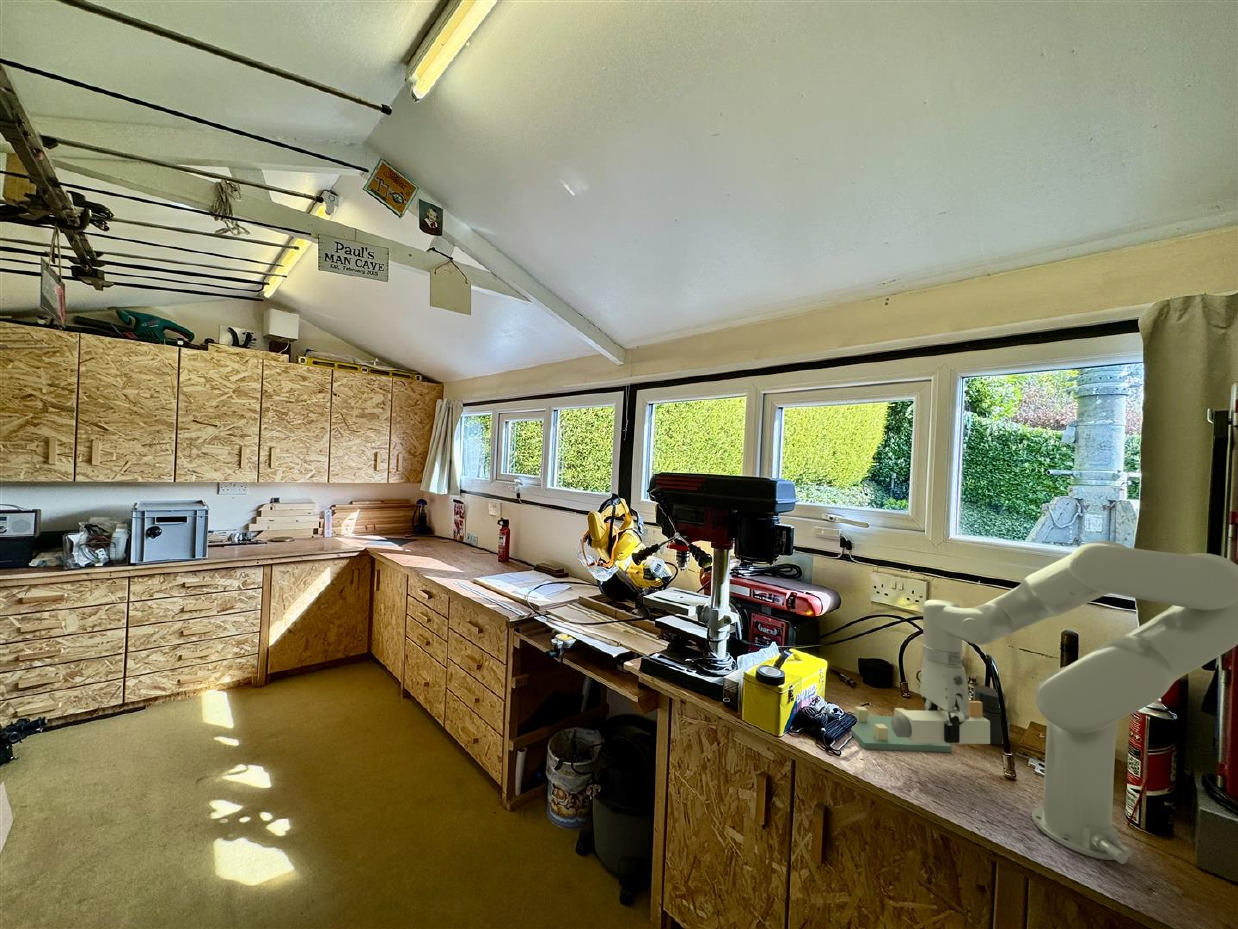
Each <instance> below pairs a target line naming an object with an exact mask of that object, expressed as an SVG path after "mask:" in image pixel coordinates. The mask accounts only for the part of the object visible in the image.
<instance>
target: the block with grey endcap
mask: <svg viewBox="0 0 1238 929" xmlns="http://www.w3.org/2000/svg"><path fill="white" fill-rule="evenodd" d="M967 713H968V715H969V720H966V721H964V722H963V723H962V725H961V726H960V742H959V743H946V742H945V741H944V724H947V723H946V718H945V713H944V710H939V711H926V710H911V709H910V710H909V709H905V710H899V716H894V715H892V716H893V717H892V719H891V725H892V729H893V731H894V733H895V735H896V736H898V737H905V738H907V739H908V740H909V741H910V742H912V743H932V744H950V745H951V744H952V745H955V744H956V745H959V744H960V745H965V744H966V745H971V744H972V745H973V744H974V745H990V721H989V720H987V719H985V718H984V717H982V702H980V701H973V700H969V711H968V712H967ZM950 714H951V718H952V717H954V713H950Z"/></svg>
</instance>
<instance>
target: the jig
mask: <svg viewBox="0 0 1238 929" xmlns="http://www.w3.org/2000/svg"><path fill="white" fill-rule="evenodd" d="M899 710H906V709H905V708H902V707H894V710H893V711H894V712H893V714H894V715H892V716H890V715H889V716H888V715H868V714H869V710H868V709H867V708H866V707H865V706H854V715H855V717H856V718H857V722H856V724H855V725H854V726H852V728H851V730H852V735H853V737H854V738H853V737H852V738H853V739H854V740H855V741H856V742H857V743H858V744H859V746H861V747H862V748H863V750H876V749H877V750H879V751H881V750H882V751H909V752H935V753H936V752H937V753H952V745H951V744H932V743H912V742H910V741H909V740H908V739H907V738H905V737H898V736H896V735H895V733H894V731H893V729H892V725H891V719H892V717H893V716H899Z"/></svg>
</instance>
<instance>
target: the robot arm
mask: <svg viewBox="0 0 1238 929" xmlns="http://www.w3.org/2000/svg"><path fill="white" fill-rule="evenodd" d="M1109 594H1113V595H1118V596H1121V597H1128V598H1133V599H1139V600H1144V601H1149V602H1156V603H1160V604H1165V605H1170V606H1169V607H1168V608H1167V609H1165V610H1163V612H1160V613H1159V614H1157V615H1155V616H1154V617H1153V618H1150V619H1149V620H1148V621H1147V622H1145V623H1143V624H1141V625H1139V626H1138V627H1136V628H1134V629H1133V630H1130V631H1128V632H1126V633H1125V634H1122V635H1121V636H1119V637H1115V638H1112V639H1110V640H1108V641H1106V642H1104V643H1102V644H1101V645H1100V646H1098V647H1097V648H1095V649H1093V650H1092V651H1090V652H1088V653H1087V654H1085V655H1083V656H1082V657H1080V658H1079V659H1077V660H1075V661H1073V662H1072V663H1070V664H1068V665H1066V666H1063V667H1060V668H1058V669H1056V670H1055V671H1053V672H1052V673H1050V674H1049V675H1048V676H1047V677H1045V678H1043V679H1042V680H1041V681H1040V682H1039V683H1038V684H1037V686H1036V689H1035V693H1034V698H1035V700H1034V701H1035V703H1036V706H1037V708H1038V711H1039V712H1040V713H1041V715H1042V716H1043V718H1045V719H1046V721H1047V722H1046V733H1045V734H1046V735H1045V749H1044V750H1045V752H1044V753H1045V754H1044V773H1043V774H1044V778H1043V779H1044V780H1043V799H1042V801H1043V802H1042V804H1043V805H1040V806H1037V807H1035V808H1034V807H1033V810H1032V811H1031V812H1032V814H1031V818H1032V821H1033V823H1034V824H1035V825H1036V827H1037V828H1038V829H1039V830H1040V831H1041V832H1042V833H1043V834H1045V835H1046V836H1047V837H1048V838H1050V839H1052V840H1053V841H1055V842H1056V843H1058V844H1060V845H1062V846H1064V847H1066V848H1068V849H1069V850H1072V851H1074V852H1077V853H1079V854H1082V855H1085V856H1088V857H1091V858H1095V859H1099V860H1105V861H1117V863H1120V864H1126V862H1128V858H1130V857H1131V856H1132V855H1133V851H1132V850H1131V849H1130V848H1129V847H1127V846H1126V845H1124V843H1122V842H1120V840H1119V839H1118V838H1119V830H1118V829H1117V828H1116V827H1114V826H1113V806H1114V805H1113V804H1114V803H1113V801H1114V778H1115V760H1116V741H1117V731H1118V724H1119V723H1118V722H1119V721H1120V720H1122V719H1124V718H1126V717H1127V716H1130V715H1132V714H1134V713H1136V712H1138V711H1140V710H1142V709H1144V708H1147V707H1148V706H1150V705H1151V704H1154V703H1156V702H1157V701H1158V700H1160V699H1161V698H1162V697H1164V695H1165V694H1167V692H1168V691H1169V690H1170V688H1171V687H1172V686H1173V685H1174V683H1175V682H1176V681H1177V680H1179V679H1180V678H1182V677H1184V676H1186V675H1188V674H1190V673H1191V672H1193V671H1195V670H1197V669H1199V668H1201V667H1203V666H1204V665H1207V664H1208V663H1209V662H1211V661H1213V660H1215V659H1217V658H1218V657H1219V656H1222V655H1223V654H1225V653H1227V652H1229V651H1230V650H1232V649H1233V648H1235V647H1236V646H1238V564H1236V563H1234V562H1233V561H1232V560H1230V559H1229V558H1227V557H1223V556H1222V555H1217V554H1213V553H1206V552H1197V553H1196V552H1195V553H1189V554H1181V553H1174V552H1165V551H1157V550H1150V549H1142V548H1141V549H1140V548H1135V547H1134V548H1133V547H1128V546H1126V545H1124V544H1122V543H1120V542H1115V541H1110V540H1105V541H1104V540H1100V541H1094V542H1088V543H1085V544H1082V545H1080V546H1078V547H1077V548H1075V549H1074V550H1073V551H1072V553H1071V554H1068V555H1067V556H1065V557H1063V558H1061V559H1058V560H1057V561H1054V562H1053V563H1051V564H1050V565H1047V566H1045V567H1043V568H1040V569H1039V570H1037V571H1035V572H1033V573H1031V574H1029V575H1027V576H1026V577H1025V578H1024V579H1023V580H1022V581H1021V583H1020V584H1019V585H1018V586H1016V587H1014V588H1012V589H1011V590H1009V591H1007V592H1005V593H1004V594H1002V595H1000V596H998V597H996V598H994V599H991V600H990V601H987V602H985V603H983V604H980V605H977V606H973V607H966V608H965V607H962V606H960V604H958V603H957V602H954V601H949V600H946V599H945V600H944V599H928V600H926V601H924V603H923V606H922V608H923V611H922V612H923V613H922V614H923V616H922V617H923V619H922V620H923V622H922V624H923V634H922V635H923V636H922V637H923V638H922V640H923V645H922V646H923V648H922V651H923V652H922V653H923V657H922V662H921V670H920V687H919V688H918V691H919V693H920V695H921V698H922V701H923V703H924V709H925V710H924V711H940V709H942V710H943V711H944V713H945V718H946V723H947V724H944V741H945V742H946V743H959V742H960V726H961V725H962V723H963V722H964V721H966V720H969V715H968V713H967V712H968V711H969V701H970V699H969V698H970V697H969V685H968V680H967V679H968V678H967V675H966V674H967V673H966V669H965V667H964V666H963V641H965V642H967V643H970V644H974V645H979V646H982V645H983V646H985V645H989V644H991V643H994V642H996V641H998V640H1001V639H1003V638H1005V637H1008V636H1010V635H1012V634H1014V633H1016V632H1017V631H1020V630H1023V629H1025V628H1027V627H1029V626H1031V625H1034V624H1036V623H1039V622H1040V621H1044V620H1045V619H1048V618H1053V617H1054V618H1055V617H1058V616H1061V615H1063V614H1065V613H1068V612H1070V611H1072V610H1075V609H1077V608H1079V607H1081V606H1084V605H1085V604H1088V603H1090V602H1092V601H1095V600H1097V599H1100V598H1103V597H1104V596H1106V595H1109ZM950 713H954V717H952V718H951V714H950Z"/></svg>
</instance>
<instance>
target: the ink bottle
mask: <svg viewBox="0 0 1238 929" xmlns="http://www.w3.org/2000/svg"><path fill="white" fill-rule="evenodd" d="M996 690H997V689H995V688H992V687H989V686H983V685H975V686H973V694H972V695H973V698H972V701H980V702H982V717H984V718H985V719H987V720H989V721H990V744H992V745H994V746H1003V745H1002V728H1001V719H1000V708H999V697H998V694H997V692H996ZM1001 692H1002V693H1003V697H1004V702H1005V705H1006V702H1007V701H1006V700H1007V698H1006V697H1007V695H1006V694H1005V693H1004V692H1003V691H1001ZM1006 721H1007V726H1008V734H1009V737H1010V732H1011V731H1010V729H1011V717H1010V716H1009V714H1007V713H1006ZM990 744H989V745H990Z"/></svg>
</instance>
